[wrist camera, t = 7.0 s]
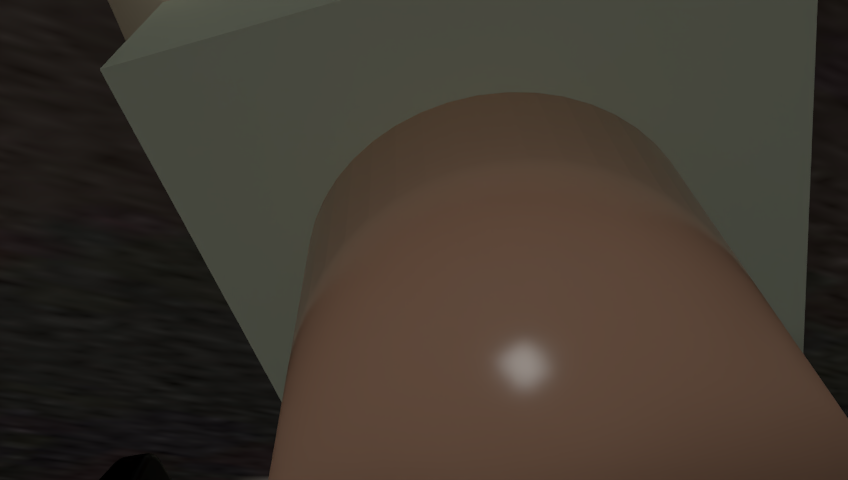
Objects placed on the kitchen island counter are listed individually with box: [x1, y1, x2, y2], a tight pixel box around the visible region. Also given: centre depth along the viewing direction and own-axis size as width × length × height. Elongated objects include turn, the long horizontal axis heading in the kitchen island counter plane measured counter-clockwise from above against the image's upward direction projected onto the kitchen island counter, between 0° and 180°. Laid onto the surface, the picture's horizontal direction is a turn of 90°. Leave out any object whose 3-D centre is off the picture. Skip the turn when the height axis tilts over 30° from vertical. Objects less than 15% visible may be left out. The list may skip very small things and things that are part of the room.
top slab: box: [100, 0, 818, 401], centre depth 12 cm, size 9×9×3 cm
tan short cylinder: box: [269, 92, 848, 480], centre depth 9 cm, size 6×6×5 cm
